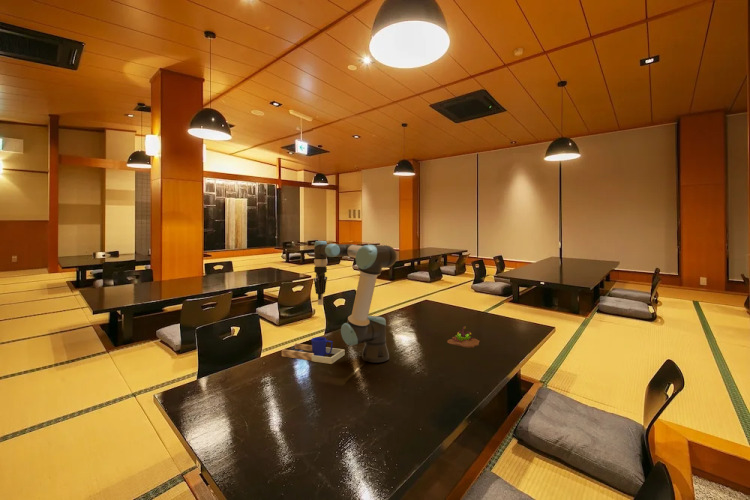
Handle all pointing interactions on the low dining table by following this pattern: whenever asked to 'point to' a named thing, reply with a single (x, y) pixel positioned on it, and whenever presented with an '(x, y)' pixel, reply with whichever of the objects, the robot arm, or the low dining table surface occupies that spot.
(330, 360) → the tray
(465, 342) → the plant
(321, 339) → the mug
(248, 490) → the low dining table surface
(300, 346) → the wooden serving tray
